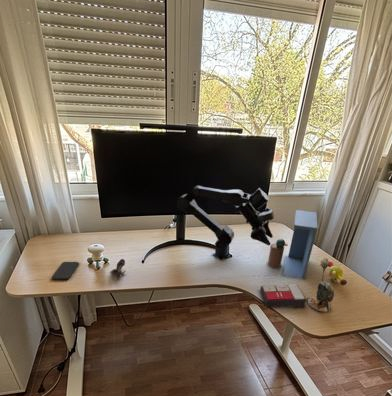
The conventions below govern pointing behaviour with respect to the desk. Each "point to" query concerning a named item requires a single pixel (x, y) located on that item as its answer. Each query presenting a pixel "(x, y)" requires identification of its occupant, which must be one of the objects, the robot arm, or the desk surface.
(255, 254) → the desk surface
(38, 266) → the desk surface
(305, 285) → the desk surface
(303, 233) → the cubby
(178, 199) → the robot arm
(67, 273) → the phone
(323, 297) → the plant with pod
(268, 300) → the red and grey box
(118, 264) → the dark squid figurine
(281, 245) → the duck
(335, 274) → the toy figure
